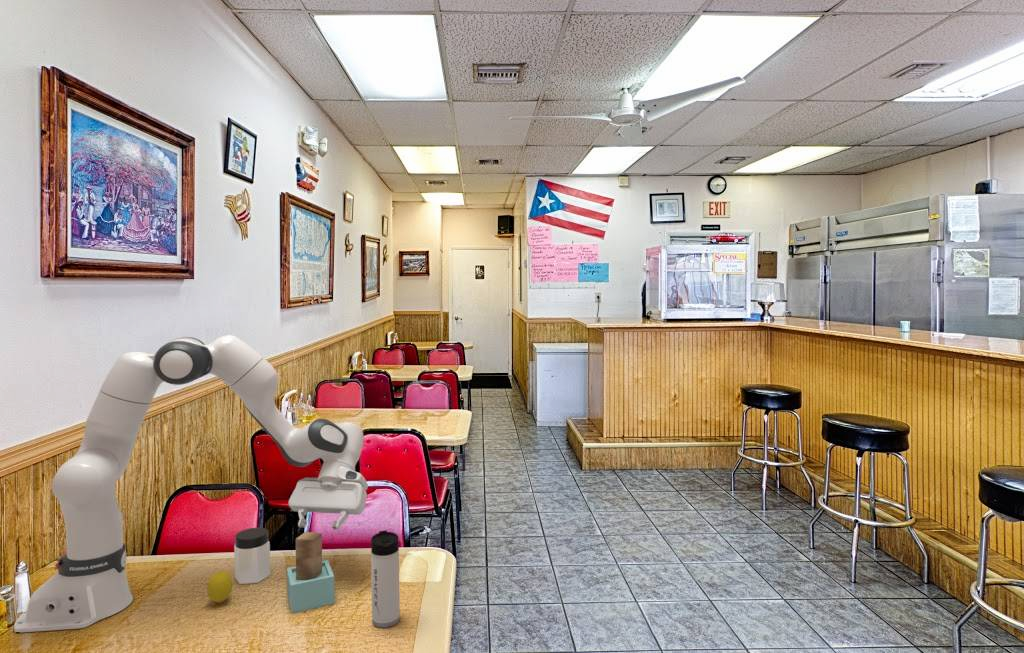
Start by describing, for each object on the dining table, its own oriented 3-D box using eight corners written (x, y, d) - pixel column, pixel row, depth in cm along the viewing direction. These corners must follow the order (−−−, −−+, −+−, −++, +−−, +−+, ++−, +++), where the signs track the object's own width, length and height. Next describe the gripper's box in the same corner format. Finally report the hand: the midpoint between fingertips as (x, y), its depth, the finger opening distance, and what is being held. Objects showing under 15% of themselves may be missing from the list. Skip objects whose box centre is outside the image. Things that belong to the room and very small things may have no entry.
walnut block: (296, 579, 140) (295, 538, 140) (305, 571, 145) (305, 532, 144) (312, 580, 139) (312, 540, 139) (322, 572, 144) (321, 533, 144)
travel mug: (397, 610, 137) (395, 528, 136) (401, 624, 130) (400, 538, 130) (370, 615, 134) (369, 532, 133) (374, 630, 128) (372, 543, 127)
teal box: (291, 614, 136) (290, 585, 135) (287, 595, 144) (286, 568, 144) (334, 604, 140) (334, 576, 140) (328, 586, 149) (327, 559, 149)
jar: (273, 578, 153) (272, 534, 152) (241, 588, 148) (240, 542, 147) (263, 566, 160) (262, 524, 159) (232, 575, 155) (231, 532, 154)
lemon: (205, 610, 137) (204, 577, 137) (210, 598, 142) (209, 567, 142) (230, 606, 139) (229, 574, 138) (234, 595, 144) (234, 564, 144)
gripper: (295, 471, 155) (276, 520, 145) (366, 474, 151) (351, 524, 142) (304, 482, 159) (286, 530, 150) (373, 485, 156) (359, 535, 147)
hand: (318, 527), depth 146 cm, fingers open, 8 cm apart
